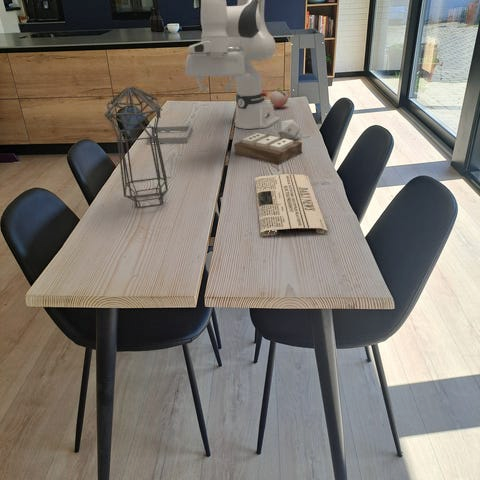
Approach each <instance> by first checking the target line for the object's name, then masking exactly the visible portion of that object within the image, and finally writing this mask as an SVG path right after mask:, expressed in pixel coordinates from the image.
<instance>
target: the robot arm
mask: <svg viewBox="0 0 480 480" xmlns="http://www.w3.org/2000/svg"><path fill="white" fill-rule="evenodd" d="M265 2H266V1H265V0H237V3H236V4H237V5H227V0H200V25H201V30H202V31H201V37H200V38H201V40H200V41H199V42H196V43H194V44H191V45H189V46H188V48H187V50H188V53H189V54H187V56H186V59H185V76H187V77H188V78H195V80H196V82H197V84H198V86H199V92H205V91H206V89H205V88H206V86H205V85H204V84H202V82H201V81H202V78H203V77H229V80H230V81H229V83H228V84H226V91H232V90H233V86H232V85H234V82H235V86H236V93H235V100H236V103H237V104H236V105H235V118H234V120H233V121H234V126H235V127H236V128H239V129H243V130H244V129H246V130H249V129H250V130H252V129H266V128H269V127H270V126H272V125H273V124H275V123H276V122H278V121H279V120H280V117H279V116H277V115H275V108H274V107H273V105H272V104H270V103H269V102H268V101H266V99H265V97H266V98H267V97H268V95H269V93H268V91H263V90H262V88H263V87H262V74H261V72H260V71H259V70H258V69H256V68H255V67H254V64H253V63H252V61H253V62H254V61H255V62H262V61H266V60H267V61H268V60H270V59H272V58H273V56H274V55H275V52H276V49H277V46H276V41H275V39H274V37H273V36H272V34H270V32H269V31H268V28H267V26H266V22H265Z"/></svg>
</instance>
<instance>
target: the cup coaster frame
mask: <svg viewBox="0 0 480 480" xmlns="http://www.w3.org/2000/svg"><path fill="white" fill-rule="evenodd" d="M155 128H156V126H155ZM193 129H194V128H193V125H167V126H157V131H158V132H161V131H165V132H167V133H171V132H170V131H187V132H185V135H184V136H167V137H158V139H159V143H175V144H188V143H189V141H188V140H190V138H191V136H192V134H193ZM153 130H154V129H153ZM149 134H150V135H151V136H153V135H152V131H151V132H150V133H149ZM154 136H155V132H154ZM146 138H149V135H148V136H147V137H146ZM151 140H152V143H154V142H153V138H152V139H151ZM146 143H150V139H146ZM155 143H156V141H155Z"/></svg>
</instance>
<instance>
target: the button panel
mask: <svg viewBox="0 0 480 480" xmlns="http://www.w3.org/2000/svg"><path fill="white" fill-rule="evenodd" d="M265 135H266V137H269V136H270V135H267V134H265ZM280 140H282V138H281V137H279V141H280ZM233 145H234V147H233V149H234V154H235V155H239V156H243V157H247V158H250V159H255V160H258V161H262V162H267V163H271V164H273V165H274V164H275V165H278V166H279V165H280V164H282V163H284V162H286V161H288V160H290V159H291V158H292V159H293V158H294V157H296V156H299V155H300V154H302V153H303V152H302V151H303V142H301V141H297V140H293V145H291V146H289V147H287V148H285V149H283V150H281V151H277V150H272V149H270V146H269V147H266V148H263V147H259V146H256V143H255V144H253V145H250V144H245V143H243V139H242V140H240V141H238V142H235V143H234V144H233Z"/></svg>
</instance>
